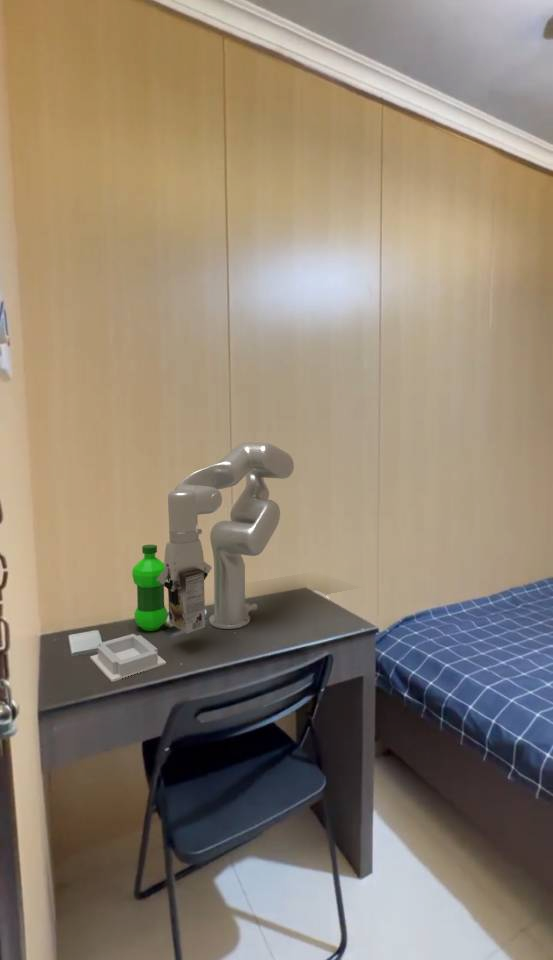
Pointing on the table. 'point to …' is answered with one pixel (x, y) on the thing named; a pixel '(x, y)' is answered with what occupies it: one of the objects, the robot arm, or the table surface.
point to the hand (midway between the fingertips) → (186, 599)
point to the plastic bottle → (149, 591)
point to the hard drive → (84, 642)
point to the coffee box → (189, 602)
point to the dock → (126, 657)
